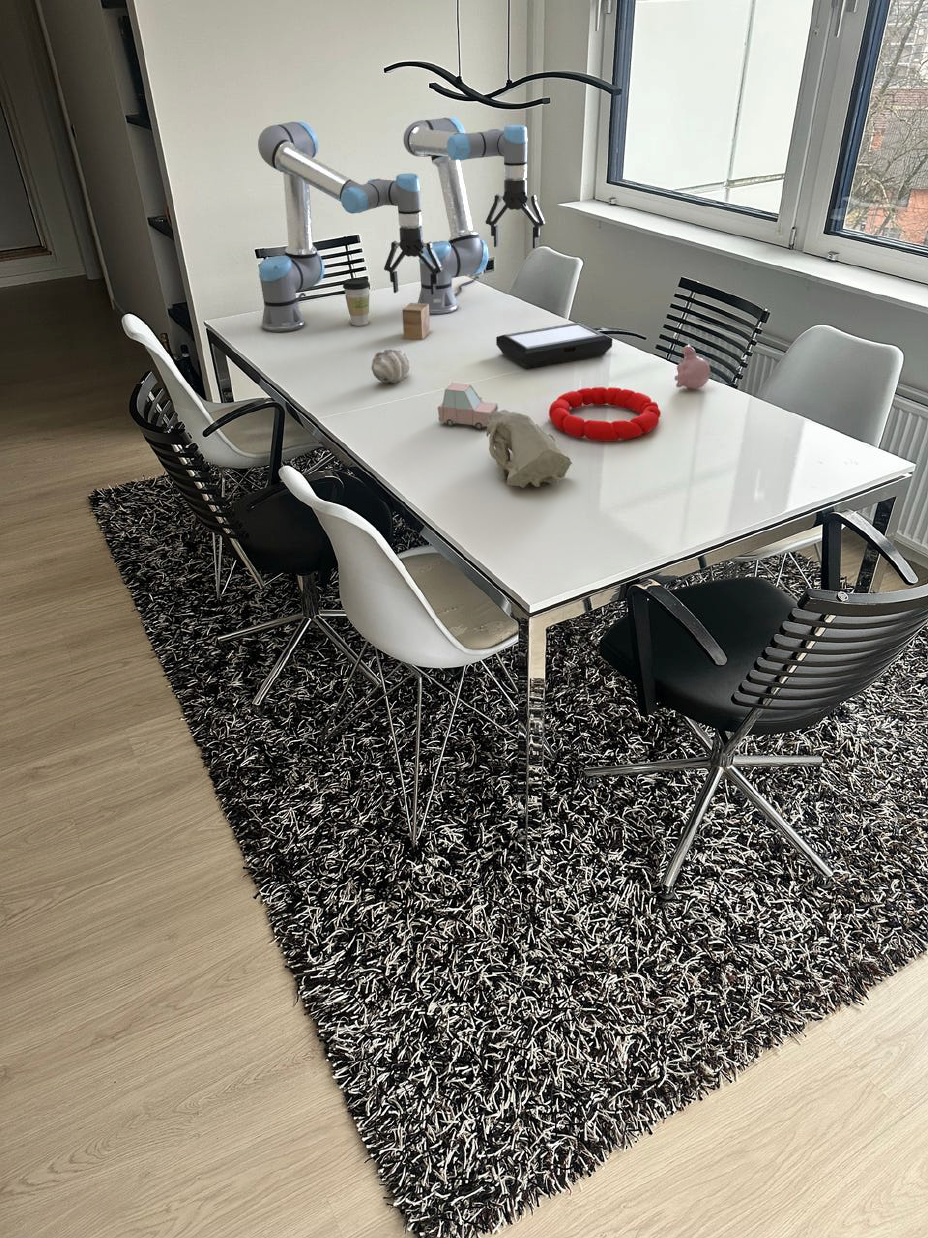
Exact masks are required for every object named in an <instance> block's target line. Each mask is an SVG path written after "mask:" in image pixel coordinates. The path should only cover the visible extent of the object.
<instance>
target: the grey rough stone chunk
mask: <svg viewBox="0 0 928 1238" xmlns="http://www.w3.org/2000/svg"><path fill="white" fill-rule="evenodd" d="M485 436H486V438H487V437H489V438H488V440H489V444H488V445H489V446H488V450H489V454H490V456H491V457H492V458H493V459H494V460H495V462H496V464H497V466H499V468H500V470H501V471H502V472H501V478H502V479H507V480H506V484H507V486H517V487H518V486H519V488H523V489H524V488H526V486H527V485H529V483H531V485H533V486H534V487H536V488H540V485H541V484H542V482H544V483H549V484H550V485H553V484H555V483H556V482H557V480H561V479H563V478H565V476H566V474H567V472H568V471H569V469H570V467H571V466H572V464H573V462H572V461H571V458H570V457H568V456H567V455H565V453H564V451H562V449H561V448H560V446H559V444H557V443H556V439H555V438H554V436H553V435H551V434H550V433H548V432H547V431H546V430H545V429H544V428H542V427H541V426H539V425H538V424H537V423H536V424H535V422H534V421H533V419H532V418H531V417H530V416H529V415H527V414H524V413H519V412H515V411H509V410H507V409H502V410H500V411H499V410H497V411H496V412H492V413H491V414H490V422H488V423H487V427H486V435H485ZM511 453H512V454H511ZM511 455H512V457H513V458H512V460H511ZM507 474H508V475H507Z"/></svg>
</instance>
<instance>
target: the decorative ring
mask: <svg viewBox="0 0 928 1238" xmlns="http://www.w3.org/2000/svg"><path fill="white" fill-rule="evenodd" d="M583 405H584V406H586V407H587V406H591V405H593V406H604V405H608V406H614V407H619V408H624V409H628V410H632V411H635V412H636V413H638V414H639V415H637V416H635V417H632V418H631V419H630V420H625V419H624V420H623V419H622V420H614V421H611V422H609V421H607V420H606V421H605V420H593V419H587V420H586V421H585V419H584V418H582V417H579V416H577V415H573V414H571V413H570V410H571V409H579V408H581V407H582V406H583ZM548 416H549V419H550V422H551V423H552V425H553V426H554V427H555V428H556V429H558V430H559V431H561V432H563V433H567V434H568V435H569V436H573V437H576V438H580V439H582V438H583V437H585V438H586V439H587V440H591V441H601V442H602V441H603V442H608V441H609V442H610V441H611V442H612V441H615V442H616V441H618V440H630V439H634V438H638V437H641V436H642V434H647V433H650V432H651V431H653V430H654V429H655V428H656V427H657V426H658V424H659V422H660V421H659V420H660V417H661V410H660V408H659V405H658V403H657V402H656V401H652V399H651V397H649V396H648V395H646V394H644V393H642V392H635V391H634V390H632V389H628V388H624V389H622V388H620V387H613V386H612V387H611V386H610V387H608V388H606V387H604V386H594V387H585V388H584V387H583V388H580V389H578V390H571V391H568V392H565V393H563V394H561V395H560V396H558V397H557V398H556V400H554V401H552V403H551V404H550V407H549V409H548Z"/></svg>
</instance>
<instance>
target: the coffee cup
mask: <svg viewBox="0 0 928 1238" xmlns="http://www.w3.org/2000/svg"><path fill="white" fill-rule="evenodd" d="M370 287H371V283H370V282H369V279H367V278H365V277H351V278H347V279H345V280H344V281H343V285H342V288H343V290H344V297H345V301H346V305H347V310H348V314H349V318H350V323H351V325H353V326H357V327H359V326H365V325H368V324H369V317H370V316H369V313H370Z"/></svg>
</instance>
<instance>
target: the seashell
mask: <svg viewBox="0 0 928 1238" xmlns="http://www.w3.org/2000/svg"><path fill="white" fill-rule="evenodd" d="M410 368H411V362H410V358H409V357H408V354H407V353H403V351H401V350H396V349H384V350H383V352H376V353H375V354H374V356H373V358H372V363H371V371H372V374H373V377H375V378H376V379H377V380H378V381H379V382H380V383H384V384H388V383H389V382H390V383H393V384H396V383H400V382H402V381H403V380H404V378H406V376H407V375H408V373H409V372H410Z"/></svg>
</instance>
